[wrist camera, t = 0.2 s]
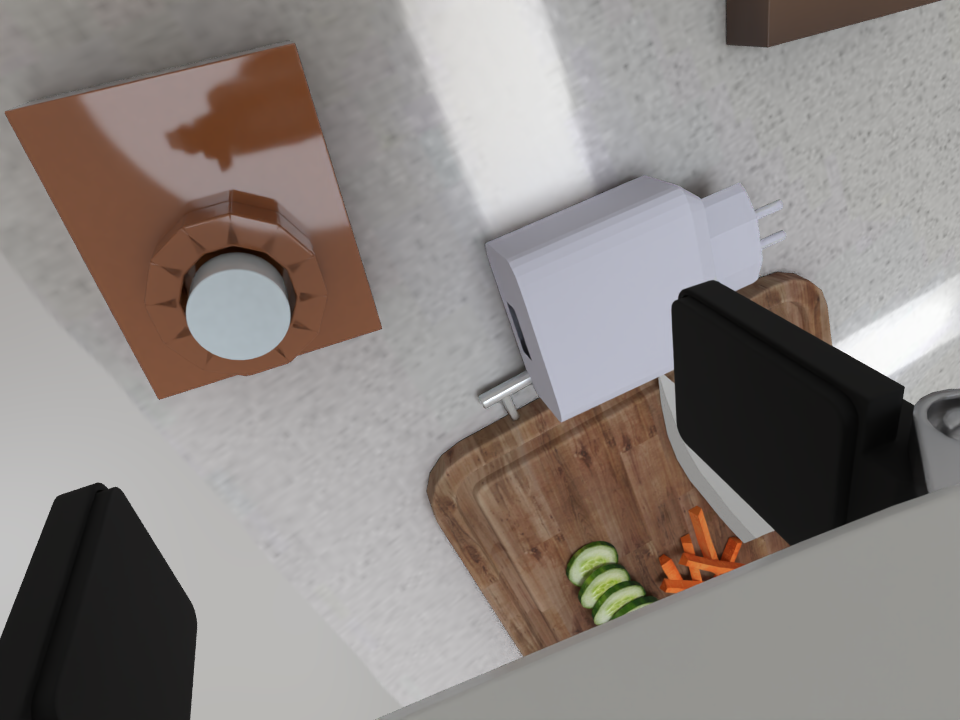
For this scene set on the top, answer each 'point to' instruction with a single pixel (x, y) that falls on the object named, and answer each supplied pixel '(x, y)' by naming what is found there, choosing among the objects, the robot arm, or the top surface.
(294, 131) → the brown base with collar
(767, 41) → the brown flat block
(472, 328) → the top surface
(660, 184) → the charger
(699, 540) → the chopping board
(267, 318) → the round grey push button
